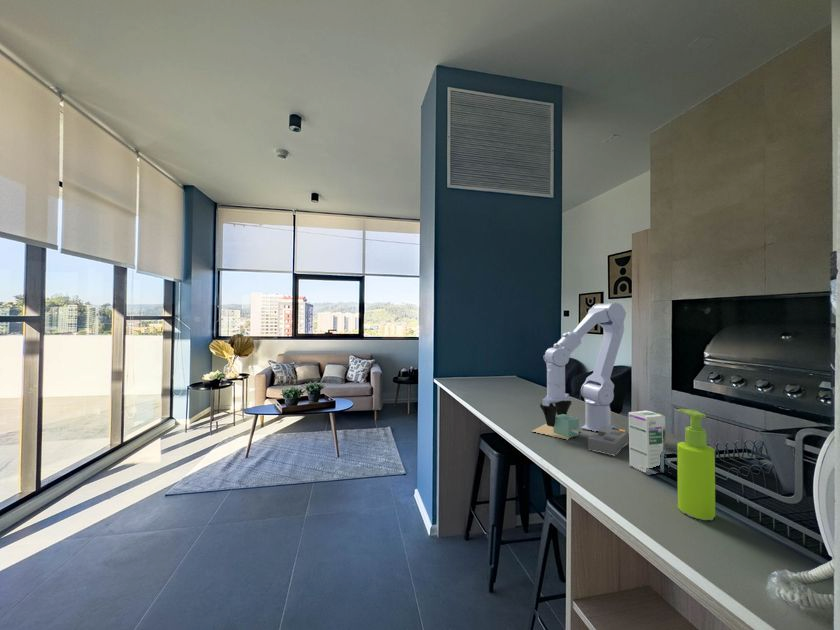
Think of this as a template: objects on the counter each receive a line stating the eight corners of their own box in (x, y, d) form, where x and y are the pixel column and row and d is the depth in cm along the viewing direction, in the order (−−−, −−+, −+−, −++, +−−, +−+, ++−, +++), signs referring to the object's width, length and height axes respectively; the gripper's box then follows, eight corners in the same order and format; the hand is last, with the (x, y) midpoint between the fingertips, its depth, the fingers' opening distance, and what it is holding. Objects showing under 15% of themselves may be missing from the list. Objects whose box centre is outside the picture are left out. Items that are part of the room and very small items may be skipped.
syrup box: (648, 476, 87) (648, 417, 87) (628, 466, 92) (628, 410, 92) (666, 473, 88) (666, 415, 88) (645, 464, 94) (645, 409, 94)
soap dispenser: (694, 502, 75) (693, 406, 75) (723, 521, 68) (722, 415, 68) (666, 502, 74) (666, 407, 75) (693, 521, 67) (692, 416, 68)
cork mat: (546, 424, 129) (546, 423, 129) (580, 431, 121) (580, 430, 121) (531, 432, 120) (531, 431, 120) (567, 440, 112) (567, 439, 112)
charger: (563, 430, 121) (563, 414, 121) (585, 437, 114) (585, 420, 114) (553, 432, 119) (553, 415, 119) (575, 440, 111) (574, 422, 111)
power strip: (602, 438, 114) (602, 425, 114) (627, 443, 109) (627, 430, 109) (588, 450, 104) (588, 436, 104) (614, 456, 99) (614, 442, 99)
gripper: (557, 388, 113) (557, 431, 112) (577, 382, 122) (577, 422, 122) (536, 384, 118) (536, 426, 118) (557, 379, 128) (557, 417, 127)
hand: (556, 423), depth 120 cm, fingers open, 7 cm apart
